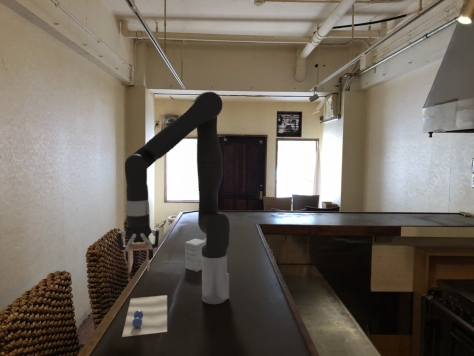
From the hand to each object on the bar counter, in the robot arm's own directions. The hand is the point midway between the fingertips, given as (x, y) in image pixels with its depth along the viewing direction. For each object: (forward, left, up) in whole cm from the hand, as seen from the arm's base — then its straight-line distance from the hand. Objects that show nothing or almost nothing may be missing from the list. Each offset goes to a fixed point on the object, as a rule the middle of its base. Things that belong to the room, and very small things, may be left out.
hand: (139, 260), depth 112 cm
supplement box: (-32, -24, -18) cm, 44 cm away
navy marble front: (+5, +13, -15) cm, 20 cm away
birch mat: (0, +6, -18) cm, 19 cm away
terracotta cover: (0, 0, -2) cm, 2 cm away
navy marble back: (+3, +9, -15) cm, 18 cm away
